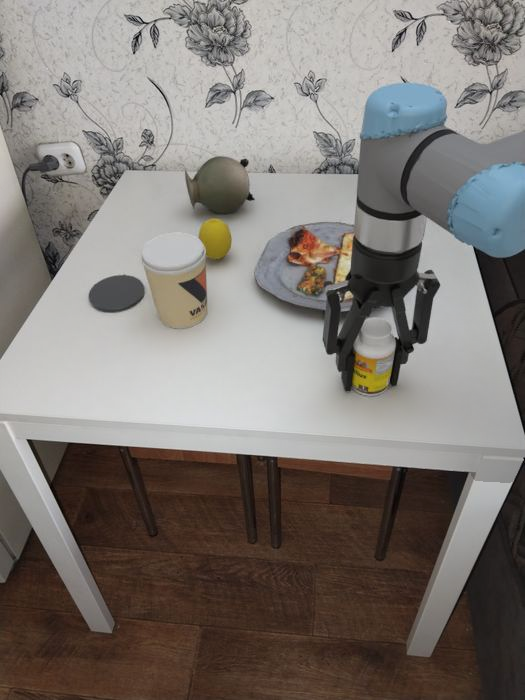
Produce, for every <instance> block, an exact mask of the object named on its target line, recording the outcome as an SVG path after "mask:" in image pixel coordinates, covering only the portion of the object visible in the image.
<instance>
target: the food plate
mask: <svg viewBox="0 0 525 700" xmlns="http://www.w3.org/2000/svg"><path fill="white" fill-rule="evenodd" d="M353 236H354V224H350V223H345V222H341V221H320V222H313V223H311V222H310V223H304V224H299V225H295V226H292V227H290V228H289V229H286V230H285V231H283V232H281V231H280V232H279V233H278V234H277V235H275V236H274V237H272V238H270V239H269V240H268V241H267V243H266V245H265V247H264V249H263V251H262V253H261V255H260V258H259V259H258V261H257V263H256V266H255V268H254V272H253V274H254V278H255V280H256V282H257V284H258V285H259V287H261V288H262V289H263V290H265V291H266V292H267V293H271V294H272V295H273V296H275V297H276V298H278V299H280V300H282V301H284V302H287V303H289V304H294V305H296V306H300V307H305V308H309V309H315V310H318V311H323V310H324V311H325V310H326V301H327V296H326V293H325V290H324V287H323V284H324V283H325V282H326V281H331V282H332V283H333V284H336V283H338V282H341V281H344V280H345V278H346V276H347V274H348V273H349V271H350V268H351V255H352V243H353ZM343 300H344V301H343V303H340V306H341V312H349V310H350V308H351V305H352V300H353V294H352V293H351V292H350V291H348V292H346V293H345V298H344V299H343Z"/></svg>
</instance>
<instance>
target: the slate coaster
mask: <svg viewBox="0 0 525 700" xmlns="http://www.w3.org/2000/svg"><path fill="white" fill-rule="evenodd" d="M144 285H145V284H144V283H143V282H142V281H141V280H140V279H139V278H137V277H135V276H132V275H128V274H118V275H111V276H108V277H105V278H103V279H101V280H99V281H98V282H96V283H95V284H94V285H92V287H91V288H90V290H89V292H88V300H89V303H90V305H91V306H92V307H93V308H94V309H95V310H98V311H100V312H104V313H118V312H119V313H120V312H123V311H127V310H129V309H131V308H134V306H135V307H136V305H137V304H139V302H141V301H142V300H143V298H144V296H145V293H146V290H145V286H144Z"/></svg>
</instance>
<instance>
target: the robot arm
mask: <svg viewBox="0 0 525 700" xmlns="http://www.w3.org/2000/svg"><path fill="white" fill-rule="evenodd" d="M447 108H448V101H447V98H446V97H445V95H444V94H443V92H442V91H440V89H438V88H436V87H434V86H431V85H427V84H424V83H417V82H397V83H391V84H388V85H383V86H381V87H378V88H377V89H375V90H374V91H372V92H371V93H370V94H369V95H368V97H367V99H366V102H365V105H364V112H363V117H362V125H361V132H360V133H359V139H360V144H359V155H358V159H359V160H358V172H357V185H356V201H355V212H354V223H353V225H354V236H353V243H352V255H351V268H350V271H349V273H348V274H347V276H346V278H345V280H344V281H341V282H338V283H336V284H333V283H332V282H331V281H326V282H325V283H324V284H323V287H324V290H325V293H326V296H327V301H326V310H324V319H323V328H322V329H323V330H322V338H321V339H322V343H323V347H324V349H325V353H326V354H327V355H328V356H332V355H335V366H336V369H337V371H338V372H339V373H341V375H340V378H341V381H342V385H343V388H344V391H345V393H348V392H349V393H350V392H352V389H353V388H352V378H353V368H354V359H355V356H354V353H353V350H352V347H353V344H354V342H355V340H356V338H357V336H358V334H359V332H360V330H361V328H362V325H363V323H364V321H365V319H367V318H370V316H371V313H372V311H373V310H375V309H377V308H381V307H383V308H384V307H385V308H391V312H392V317H393V321H394V325H395V330H396V333H397V336H394V338H395V340H396V348H395V354H394V360H393V366H392V371H391V377H390V382H389V385H390V386H391V387H397V386H398V382H399V376H400V371H401V365H406V364H407V363H408V360H409V355H410V354H412V353H413V352H414V351H415V347H414V345H415V344H418V345H423V344H425V343H426V342H427V341H428V335H429V329H430V323H431V316H432V311H433V304H434V298H435V296H436V295H437V293H438V291H439V289H440V287H441V283H440V280H439V279H438V277H437V276H436V274H435V272H434V270H432V269H428V270H425V272H419V271H418V269H419V266H420V265H419V264H420V259H421V253H422V248H423V240H424V236H425V233H426V226H427V221H428V220H430V221H431V222H433V223H434V224H436V225H437V226H439V227H440V228H442V229H443V230H445V231H446V232H448V233H450V234H451V235H453V236H454V238H455V239H457V240H458V241H459V242H460V243H462V244H464V243H465V244H466V245H468V246H472V247H473V248H476V249H477V250H478V251H481V252H483V253H484V254H486V255H488V256H490V257H493V258H500V259H505V258H509V257H513V256H514V255H517V254H519V253H521V252H522V251H524V250H525V129H524V130H522V131H519V132H517V133H513V134H511V135H510V134H509V135H507V136H505V137H502V138H499V139H496V140H494V141H490V142H488V143H481V142H477V141H476V140H473V139H471V138H469V137H467V136H465V135H463V134H460V133H459V132H457V131H455V130H453V129H451V128H449V127H448V126H446V125H445V123H446V121H447V119H448V115H447ZM415 287H416V293H415V301H414V309H413V316H412V324H411V329H410V327H409V322H408V317H407V312H406V311H407V309H406V304H405V299H404V298H405V297H406V296H407V295H408V294H409V293H410V292H411V291H412V290H413V289H414V288H415ZM348 291H350V292H351V293H352V294H353V300H352V305H351V308H350V310H349V311H347V315H346V317H345V320H344V322H343V324H342V326H341V328H340V322H341V321H340V320H341V313H342V311H341V306H340V303H343V301H344V300H343V299H344V298H345V293H346V292H348ZM339 328H340V330H339Z"/></svg>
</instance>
